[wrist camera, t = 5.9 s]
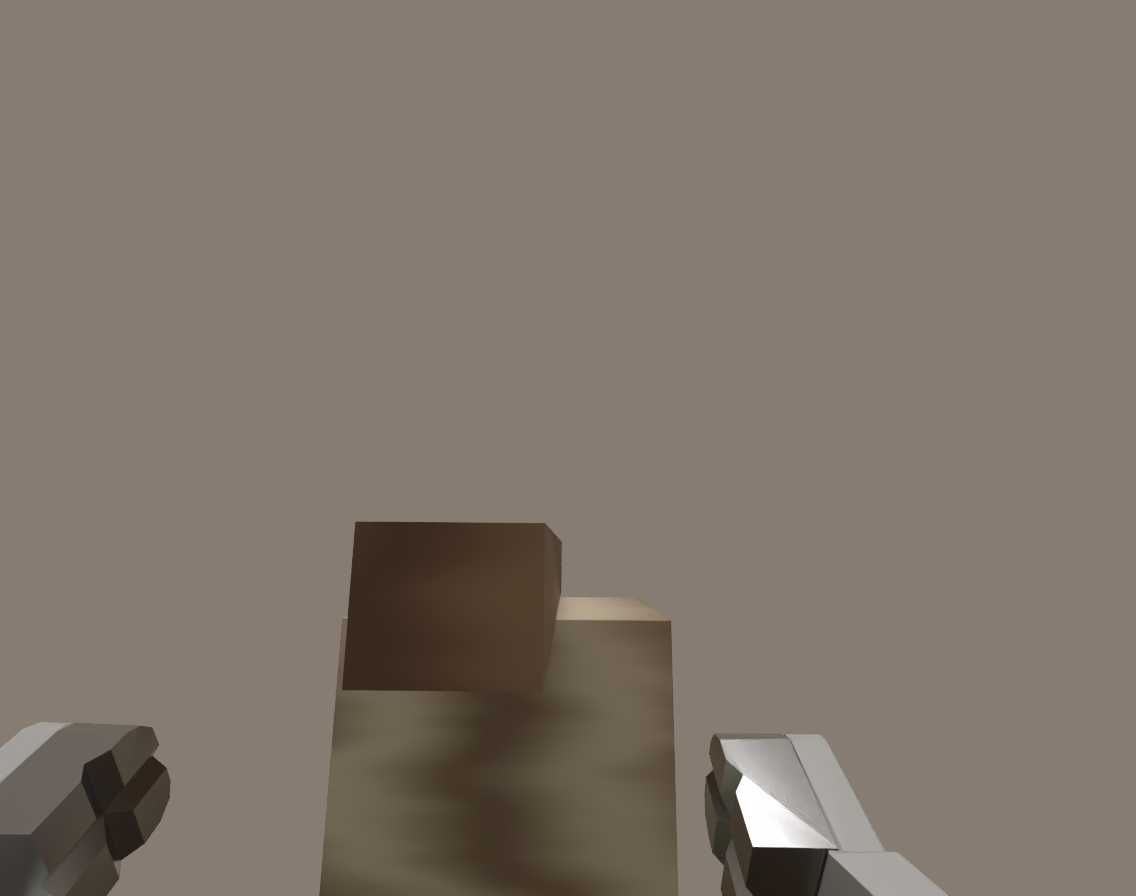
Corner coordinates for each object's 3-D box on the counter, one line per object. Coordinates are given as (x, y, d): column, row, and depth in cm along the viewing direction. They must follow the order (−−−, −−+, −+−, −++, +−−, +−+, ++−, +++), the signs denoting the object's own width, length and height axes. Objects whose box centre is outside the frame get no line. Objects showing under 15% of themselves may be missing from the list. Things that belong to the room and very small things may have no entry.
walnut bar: (341, 690, 8) (355, 521, 9) (502, 590, 28) (504, 541, 28) (542, 692, 8) (545, 523, 9) (560, 591, 28) (561, 542, 28)
